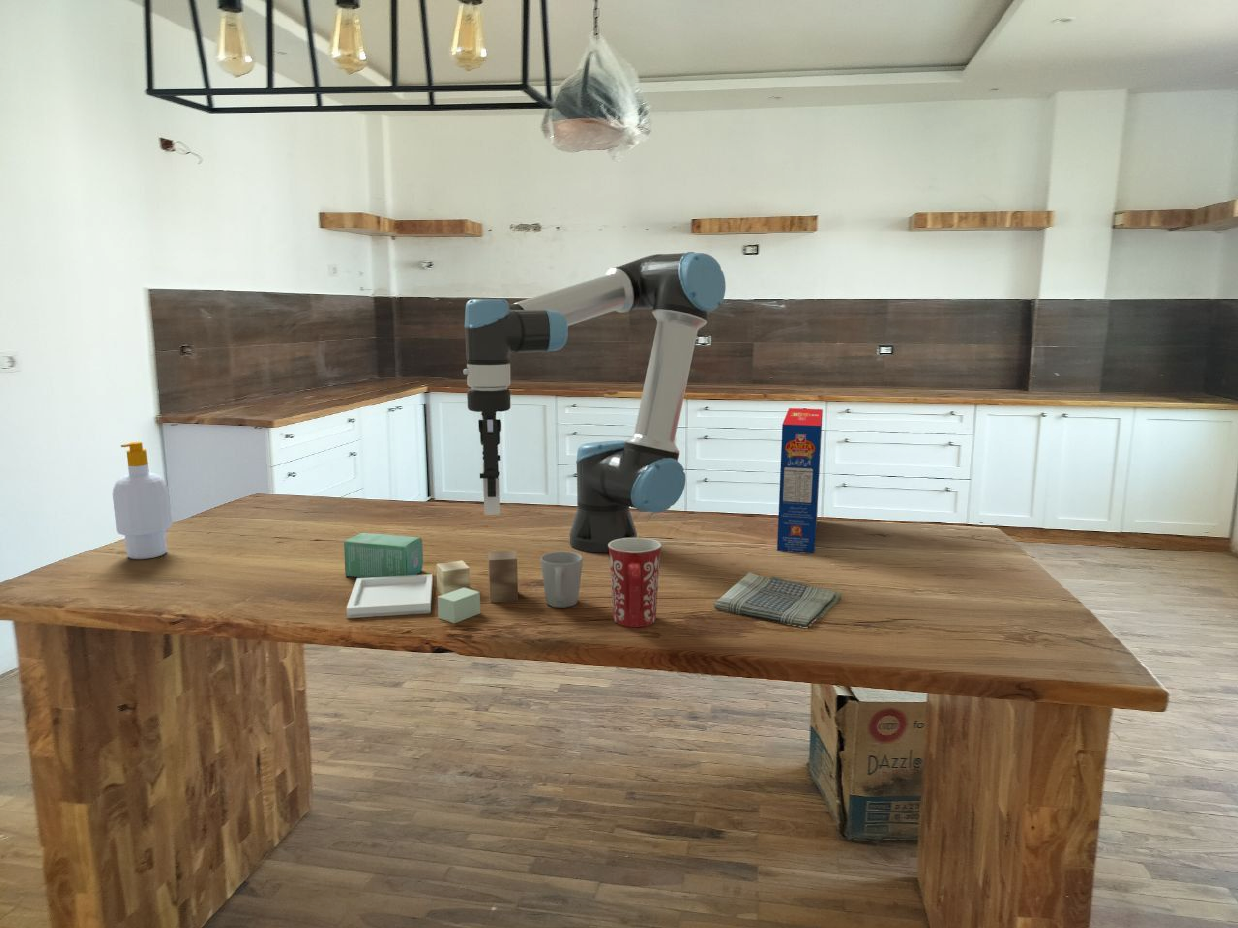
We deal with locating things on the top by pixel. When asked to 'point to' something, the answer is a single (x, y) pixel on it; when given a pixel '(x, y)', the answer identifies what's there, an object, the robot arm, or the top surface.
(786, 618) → the dish towel
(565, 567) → the cup
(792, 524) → the pasta box
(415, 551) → the box
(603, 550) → the robot arm
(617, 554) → the mug
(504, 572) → the walnut block
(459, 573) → the oak block
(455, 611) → the sage block
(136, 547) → the soap bottle
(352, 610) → the tray
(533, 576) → the top surface
